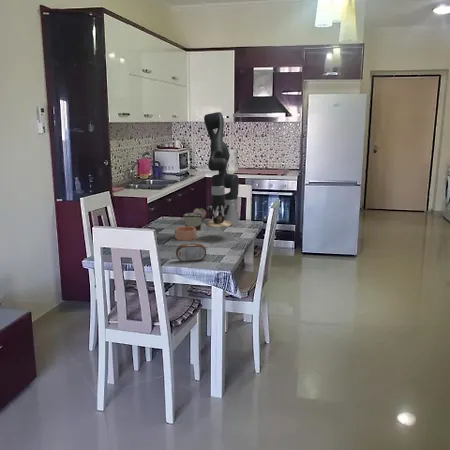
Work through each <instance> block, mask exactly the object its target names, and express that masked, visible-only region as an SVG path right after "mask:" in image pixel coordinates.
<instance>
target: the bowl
mask: <svg viewBox="0 0 450 450" xmlns="http://www.w3.org/2000/svg"><path fill="white" fill-rule="evenodd" d="M174 238H175V240H178V241H193V240H195V239H197V231H196V228H194V227H188V226H185V225H184V226H177V227H176V228H174Z"/></svg>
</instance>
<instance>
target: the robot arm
mask: <svg viewBox="0 0 450 450" xmlns="http://www.w3.org/2000/svg"><path fill="white" fill-rule="evenodd" d="M224 119H225V118H224V115H223V113H222V112H220V111H219V112H218V111H217V112H211V113H207V114H205V115H204V116H203V120H204V125H205V129H206V131H207V133H208V137H209V140H210V144H209V145H210V147H209V148H210V157H209V159H208V162H207V167H208V169H209V170H210V171H212V172H216V171H217V172H218V174H214V175H212V176H211V189H210V190H211V204H210V206H209V205H208V206H206V209H207V211H208V214H209V216H210V217H212V220H213V222H214V223H215V224H217V217H216V216H218V215H217V214H218V212H219V214H220V216H222V223H223V222H224V220H226V221H230V222H231V223H232V225H231V226H230V227H235V226H238V225H239V224H240V215H239V214H240V213H239V212H240V211H239V209H238V203H239V202H238V195H239V185H240V183H239V182H240V179H239V176H238V175H237V174H233V173H228V171H227V165H228V163H229V159H230V151H229V147H228V145H227V143H226V142H224V140H223V138H224V131H225V130H224V129H225V120H224ZM215 129H216V132H215ZM225 189H229V192H227V193H226V191H225Z"/></svg>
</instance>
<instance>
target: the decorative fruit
mask: <svg viewBox="0 0 450 450" xmlns="http://www.w3.org/2000/svg"><path fill="white" fill-rule="evenodd" d="M192 213H199V214H202V216H203V218H202V221H204V220H205V219H206V216H207V212H206V210H205V209H204V208H200V206H199V207H195V208H194V209H193V212H192Z"/></svg>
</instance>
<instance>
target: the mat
mask: <svg viewBox="0 0 450 450" xmlns="http://www.w3.org/2000/svg"><path fill="white" fill-rule="evenodd" d="M199 238H200V239H202V240H203V241H205V242H206V243H208V244H210V245H215V244H221V243H229V242H234V241H238V239H237V238H234V237H233V236H230V235H228V234H227V233H220V234H219V233H218V234H211V235H204V236H199Z"/></svg>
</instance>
